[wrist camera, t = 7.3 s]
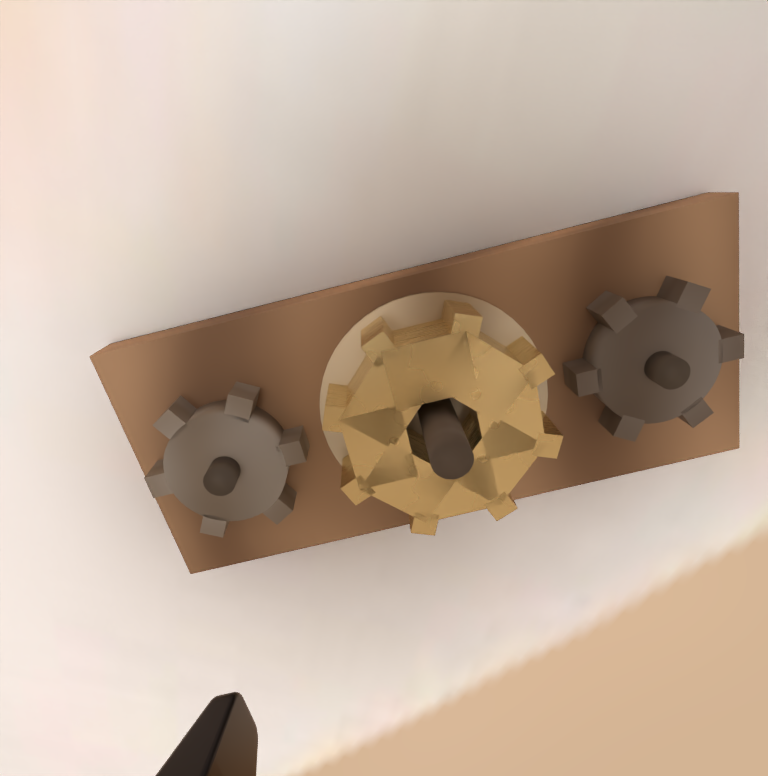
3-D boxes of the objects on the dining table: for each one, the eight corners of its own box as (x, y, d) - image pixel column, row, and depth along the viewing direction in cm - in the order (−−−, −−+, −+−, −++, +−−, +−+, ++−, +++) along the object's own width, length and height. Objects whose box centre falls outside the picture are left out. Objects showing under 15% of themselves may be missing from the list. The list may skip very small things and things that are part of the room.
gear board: (708, 192, 17) (852, 192, 12) (713, 430, 21) (831, 510, 15) (110, 343, 18) (12, 402, 13) (202, 549, 22) (151, 660, 16)
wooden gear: (523, 279, 17) (543, 290, 15) (552, 473, 19) (572, 503, 17) (304, 334, 17) (297, 352, 15) (360, 517, 19) (360, 552, 17)
